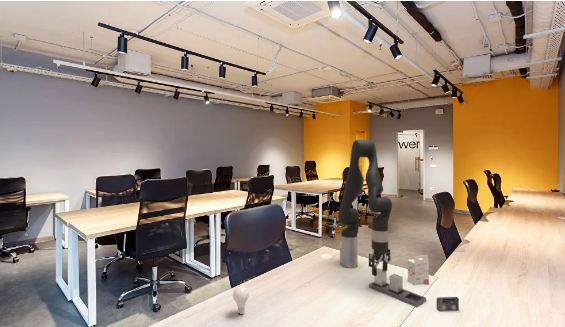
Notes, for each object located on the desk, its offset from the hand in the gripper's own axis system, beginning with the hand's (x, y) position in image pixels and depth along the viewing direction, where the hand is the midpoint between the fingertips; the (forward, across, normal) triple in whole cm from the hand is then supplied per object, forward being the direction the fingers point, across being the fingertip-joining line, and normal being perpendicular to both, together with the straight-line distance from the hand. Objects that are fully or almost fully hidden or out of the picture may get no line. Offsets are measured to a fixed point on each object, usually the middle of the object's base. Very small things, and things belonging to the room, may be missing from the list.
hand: (379, 273), depth 133 cm
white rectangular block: (+7, 0, 0) cm, 7 cm away
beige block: (+7, 0, +8) cm, 11 cm away
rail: (+8, 0, +8) cm, 11 cm away
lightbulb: (+8, +62, -22) cm, 67 cm away
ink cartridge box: (+8, -20, +8) cm, 23 cm away
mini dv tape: (+8, -4, +28) cm, 30 cm away
